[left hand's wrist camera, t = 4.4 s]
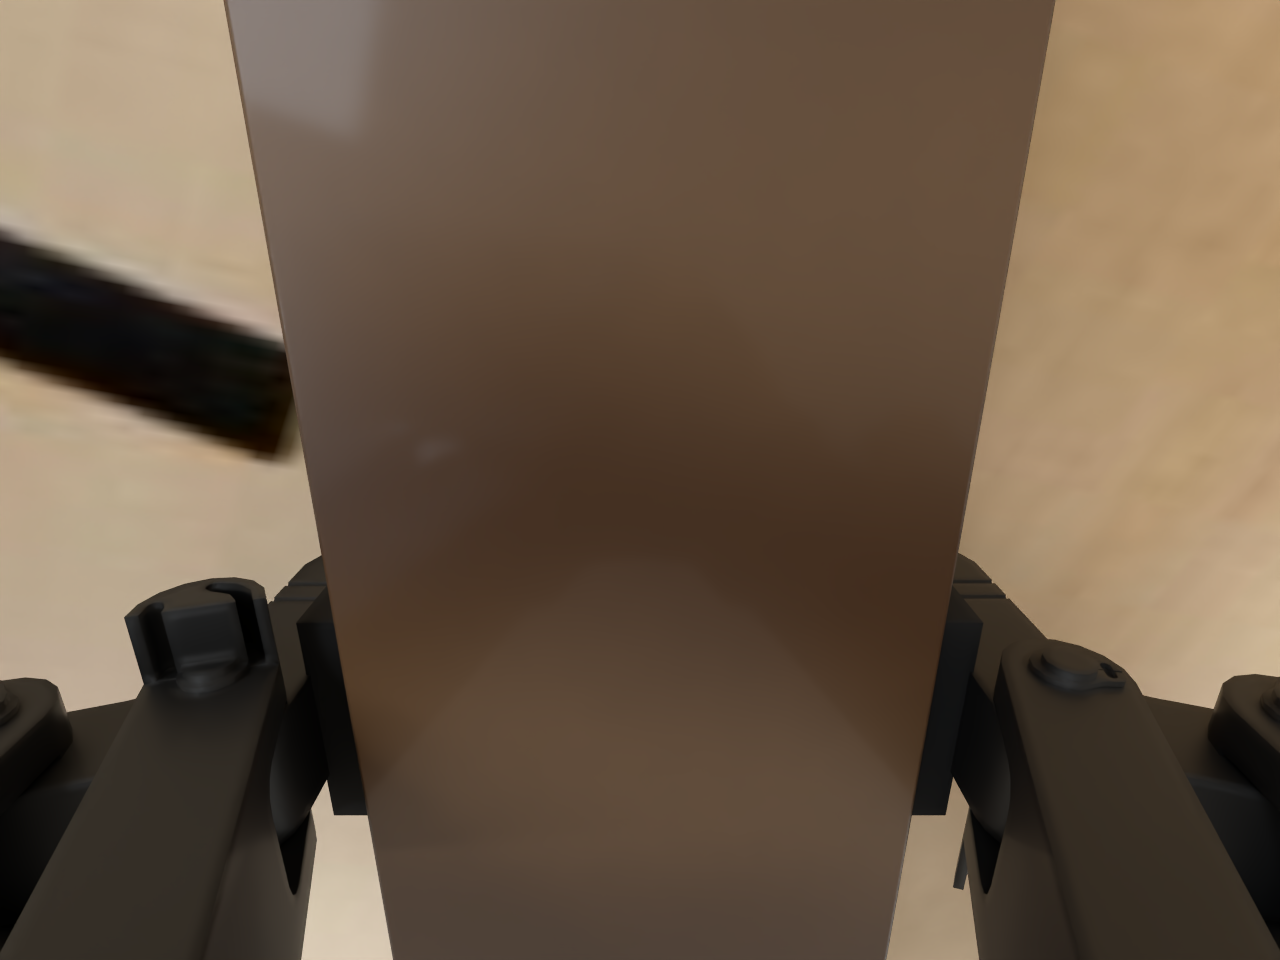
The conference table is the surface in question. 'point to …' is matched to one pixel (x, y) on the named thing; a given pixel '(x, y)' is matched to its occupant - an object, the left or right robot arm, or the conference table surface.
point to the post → (639, 439)
